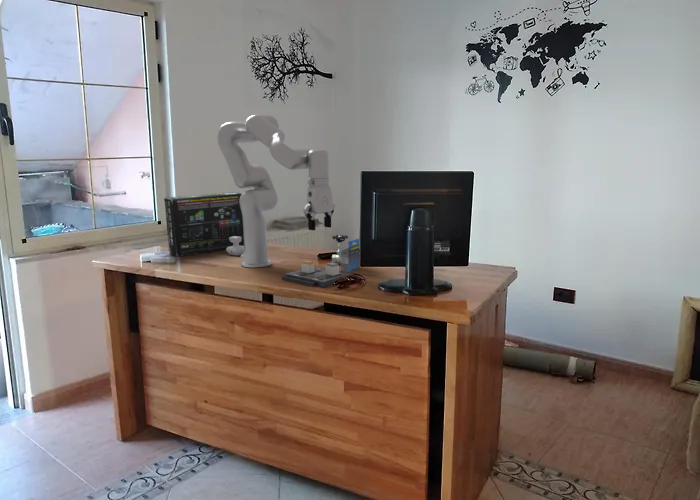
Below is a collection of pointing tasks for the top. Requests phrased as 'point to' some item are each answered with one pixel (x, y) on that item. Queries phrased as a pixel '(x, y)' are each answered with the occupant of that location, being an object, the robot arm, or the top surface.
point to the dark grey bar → (298, 281)
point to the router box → (203, 222)
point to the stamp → (235, 246)
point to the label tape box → (350, 257)
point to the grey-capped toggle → (332, 269)
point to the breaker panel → (317, 277)
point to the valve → (338, 257)
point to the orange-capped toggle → (307, 266)
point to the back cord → (339, 272)
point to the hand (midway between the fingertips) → (319, 228)
